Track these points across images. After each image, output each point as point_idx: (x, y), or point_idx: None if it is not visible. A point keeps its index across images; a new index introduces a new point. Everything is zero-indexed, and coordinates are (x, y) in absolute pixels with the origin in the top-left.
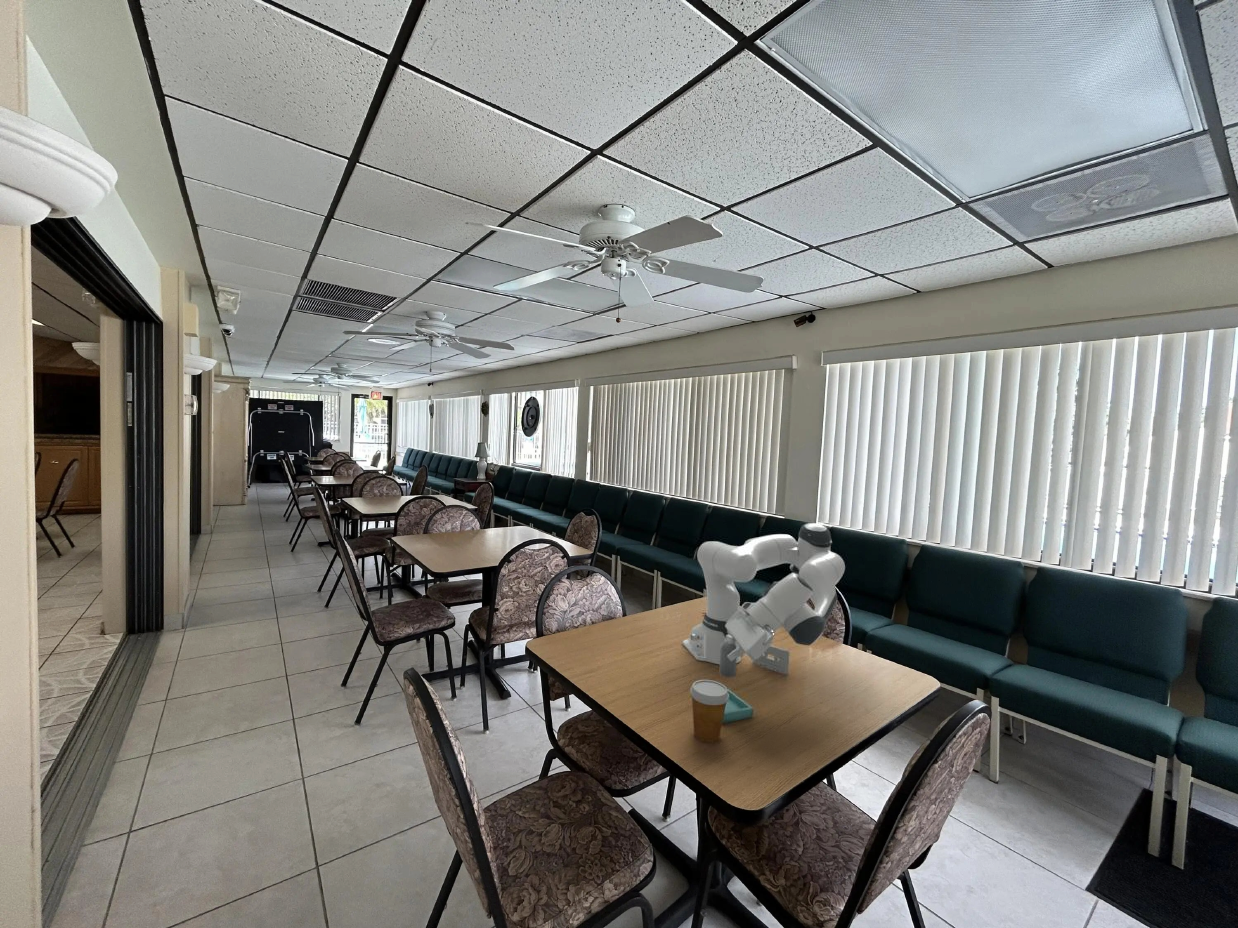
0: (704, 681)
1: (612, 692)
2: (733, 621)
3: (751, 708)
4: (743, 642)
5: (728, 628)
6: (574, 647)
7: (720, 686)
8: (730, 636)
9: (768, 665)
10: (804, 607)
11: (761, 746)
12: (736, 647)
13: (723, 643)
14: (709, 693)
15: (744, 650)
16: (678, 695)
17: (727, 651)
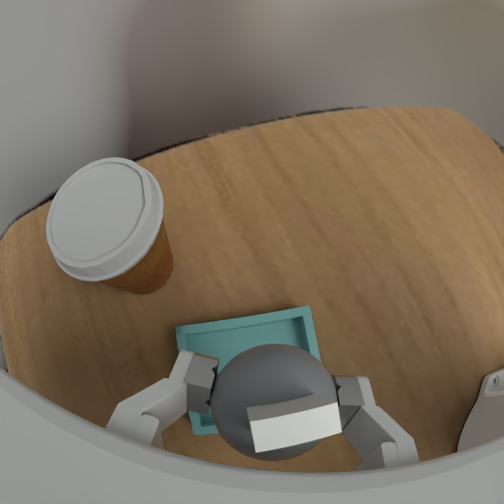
0: (145, 211)
1: (345, 143)
2: (501, 500)
3: (192, 428)
4: (51, 439)
5: (467, 456)
6: (478, 154)
7: (96, 256)
8: (283, 434)
9: None
10: None
11: (81, 365)
12: (153, 418)
13: (299, 366)
14: (76, 198)
15: (2, 369)
16: (336, 270)
17: (223, 369)
